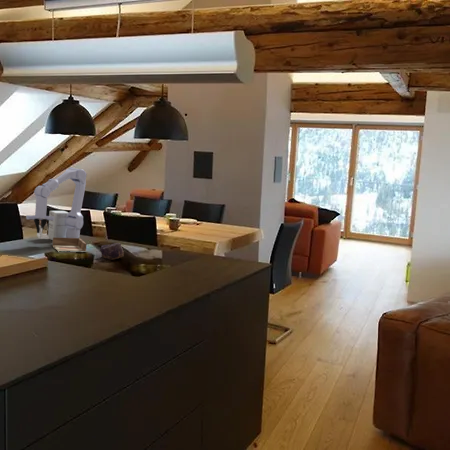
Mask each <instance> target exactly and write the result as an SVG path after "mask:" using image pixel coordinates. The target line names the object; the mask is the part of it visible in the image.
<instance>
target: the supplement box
mask: <svg viewBox="0 0 450 450" xmlns="http://www.w3.org/2000/svg"><path fill="white" fill-rule="evenodd" d="M69 212H70V211H69ZM69 212H68V211H66V210H49V214H48V216H54V217H55V219H54V220H48V230H47V231H48V232H47V235H48V236H49V239H48V240H52V241H53V237H55V238H66V231H67V228H66V227H67V226H66V225H65V219H66V217H67V214H68V213H69Z"/></svg>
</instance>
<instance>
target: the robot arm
mask: <svg viewBox="0 0 450 450" xmlns="http://www.w3.org/2000/svg"><path fill="white" fill-rule="evenodd" d="M87 174H88V173H87V172H86V170H85V169H83V168H76V167H69V168H67V169H65V171H64V172H63V173H62V174H60V175H59V176H58V177H56V178H50V179H48V180H47V181H46V182H45V183H42V185H38V186H36V187H35V189H34V191H33V193H34V195H35V213H34V214H33V215H31V214H30V215H28V214H27V215H26V217H25V219H26V220H33V221H34V224H35V228H36V234H37V233H39V225H40V226H41V227H42V228H43V229H42V233H43V231H44V228H45V227H46V225H47V223H48V221H49V220H54V219H55V217H54V216H49V215H47V208H48V206H47V205H48V197H50V194H51V193H52V192H53V191H55V190H57V189H58V188H59V187H60V184H62V183H64V182H66V181H67V180H71V181H72V182H73V183H74V185H75V186H74V187H75V189H74V193H73V197H72V203H71V210H70V211H69V213H68V214H67V217H66V219H65V225H66V226H67V227H66V228H67V231H66V238H80V235H81V234H80V233H81V229H82V228H83V226H84V216H83V214H82V213H81V211H82V207H83V202H84V196H85V190H86V186H87V181H86V180H87Z"/></svg>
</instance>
